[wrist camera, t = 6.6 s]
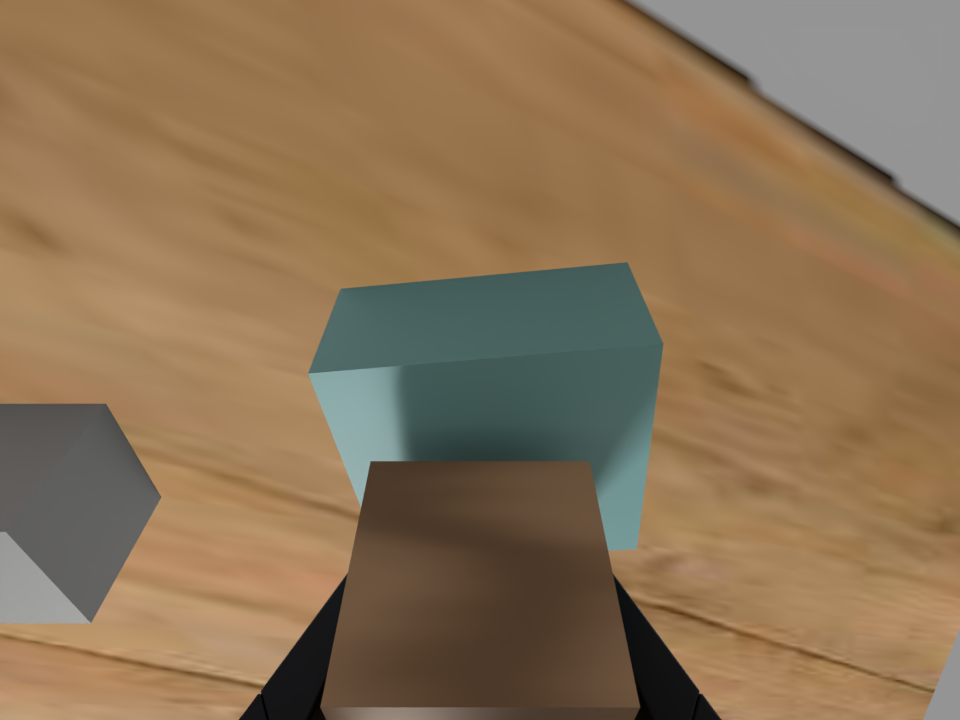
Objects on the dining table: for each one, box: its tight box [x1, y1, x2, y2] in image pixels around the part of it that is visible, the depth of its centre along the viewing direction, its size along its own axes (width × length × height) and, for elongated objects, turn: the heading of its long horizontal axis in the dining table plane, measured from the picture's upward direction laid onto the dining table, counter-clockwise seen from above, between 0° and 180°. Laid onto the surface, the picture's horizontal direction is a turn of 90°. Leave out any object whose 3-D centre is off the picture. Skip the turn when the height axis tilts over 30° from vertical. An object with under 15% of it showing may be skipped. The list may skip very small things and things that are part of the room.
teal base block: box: [308, 262, 663, 551], centre depth 16 cm, size 8×8×4 cm
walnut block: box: [320, 461, 640, 720], centre depth 12 cm, size 5×5×5 cm
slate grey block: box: [0, 404, 161, 623], centre depth 18 cm, size 5×5×5 cm
